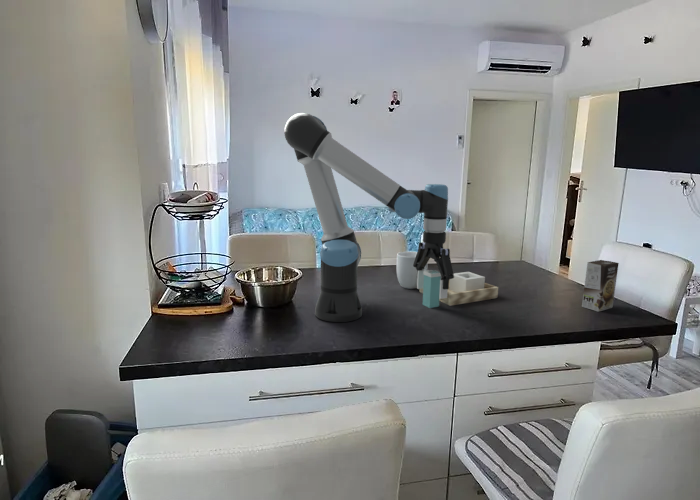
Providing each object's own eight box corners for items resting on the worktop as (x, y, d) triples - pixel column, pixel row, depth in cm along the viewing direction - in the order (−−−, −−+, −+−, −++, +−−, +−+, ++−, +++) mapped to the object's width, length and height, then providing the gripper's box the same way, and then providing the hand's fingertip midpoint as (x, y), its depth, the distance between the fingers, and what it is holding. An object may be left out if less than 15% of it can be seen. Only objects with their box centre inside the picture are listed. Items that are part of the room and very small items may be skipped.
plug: (429, 308, 160) (431, 274, 158) (421, 304, 164) (423, 271, 162) (439, 306, 162) (441, 272, 160) (431, 302, 166) (433, 269, 164)
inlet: (465, 295, 172) (466, 279, 171) (449, 289, 180) (450, 274, 178) (483, 292, 176) (485, 277, 175) (467, 286, 184) (468, 271, 183)
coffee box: (599, 312, 159) (605, 265, 156) (581, 307, 165) (586, 261, 161) (613, 307, 164) (619, 262, 161) (595, 302, 169) (601, 258, 166)
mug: (415, 280, 196) (417, 249, 194) (436, 285, 188) (437, 253, 185) (389, 285, 187) (390, 253, 184) (410, 292, 179) (411, 258, 176)
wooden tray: (450, 305, 163) (450, 294, 163) (419, 292, 179) (419, 281, 178) (497, 297, 173) (498, 287, 173) (464, 285, 189) (465, 275, 188)
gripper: (467, 235, 149) (463, 301, 154) (422, 225, 170) (419, 283, 175) (449, 237, 146) (445, 304, 150) (404, 226, 167) (402, 285, 171)
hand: (431, 293), depth 162 cm, fingers open, 12 cm apart
